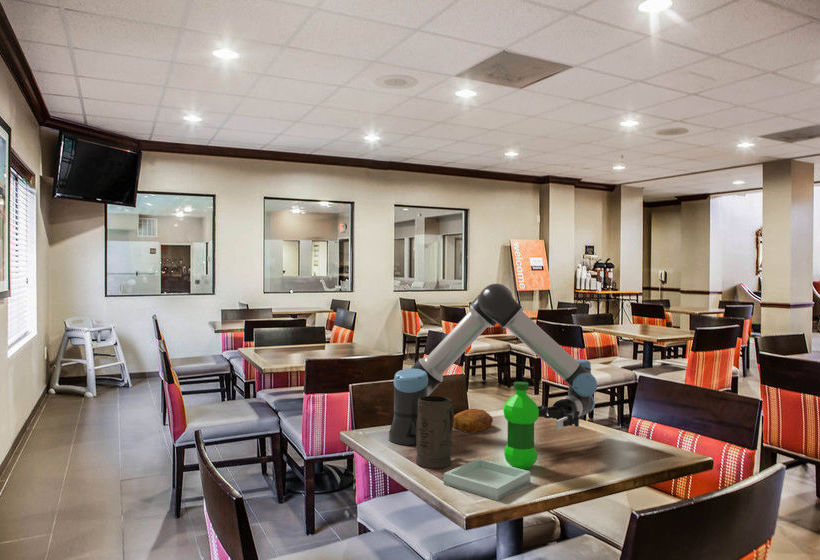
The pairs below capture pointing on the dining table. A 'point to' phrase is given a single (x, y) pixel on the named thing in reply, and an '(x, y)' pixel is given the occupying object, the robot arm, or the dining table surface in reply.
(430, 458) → the beer stein
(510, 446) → the plastic bottle
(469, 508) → the dining table surface
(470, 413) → the bread loaf
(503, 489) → the tray
